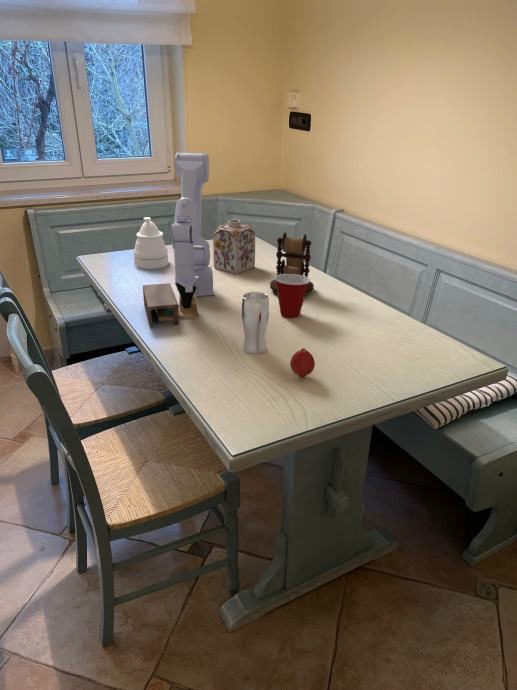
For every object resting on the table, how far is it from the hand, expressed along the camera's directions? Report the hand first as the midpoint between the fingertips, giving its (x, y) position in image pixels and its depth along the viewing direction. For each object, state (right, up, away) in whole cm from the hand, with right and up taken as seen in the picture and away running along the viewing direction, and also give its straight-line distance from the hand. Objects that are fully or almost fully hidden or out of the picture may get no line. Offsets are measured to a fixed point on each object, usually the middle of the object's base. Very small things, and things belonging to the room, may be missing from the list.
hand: (186, 306), depth 160 cm
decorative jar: (+13, +18, +41) cm, 46 cm away
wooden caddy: (-7, -2, -1) cm, 8 cm away
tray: (-3, -2, 0) cm, 4 cm away
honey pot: (-19, +20, +43) cm, 51 cm away
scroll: (+33, +6, +19) cm, 39 cm away
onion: (+32, -20, -33) cm, 50 cm away
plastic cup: (+32, -3, +1) cm, 32 cm away
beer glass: (+21, -13, -21) cm, 32 cm away
